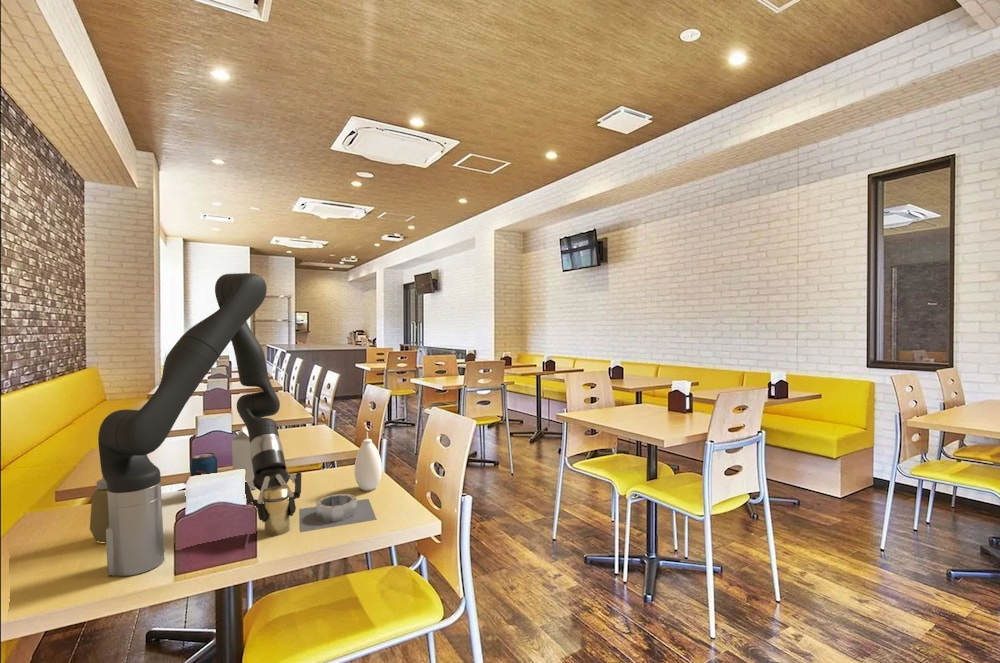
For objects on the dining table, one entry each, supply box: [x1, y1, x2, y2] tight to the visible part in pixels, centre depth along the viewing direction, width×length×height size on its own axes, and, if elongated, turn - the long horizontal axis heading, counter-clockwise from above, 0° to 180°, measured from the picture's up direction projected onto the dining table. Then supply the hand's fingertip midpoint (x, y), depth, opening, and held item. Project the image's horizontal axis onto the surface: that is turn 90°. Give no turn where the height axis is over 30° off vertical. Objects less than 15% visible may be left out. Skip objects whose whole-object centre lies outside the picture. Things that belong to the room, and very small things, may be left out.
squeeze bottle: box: [89, 476, 109, 542], centre depth 124 cm, size 8×8×18 cm
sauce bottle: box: [354, 431, 383, 492], centre depth 153 cm, size 8×8×18 cm
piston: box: [263, 485, 291, 537], centre depth 124 cm, size 6×6×11 cm
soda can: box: [189, 452, 219, 477], centre depth 153 cm, size 7×7×12 cm
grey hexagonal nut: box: [315, 493, 357, 522], centre depth 134 cm, size 10×10×4 cm
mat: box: [299, 498, 378, 533], centre depth 134 cm, size 18×16×1 cm
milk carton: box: [231, 425, 257, 490], centre depth 161 cm, size 7×7×19 cm
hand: (278, 517), depth 123 cm, fingers closed on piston, 5 cm apart
